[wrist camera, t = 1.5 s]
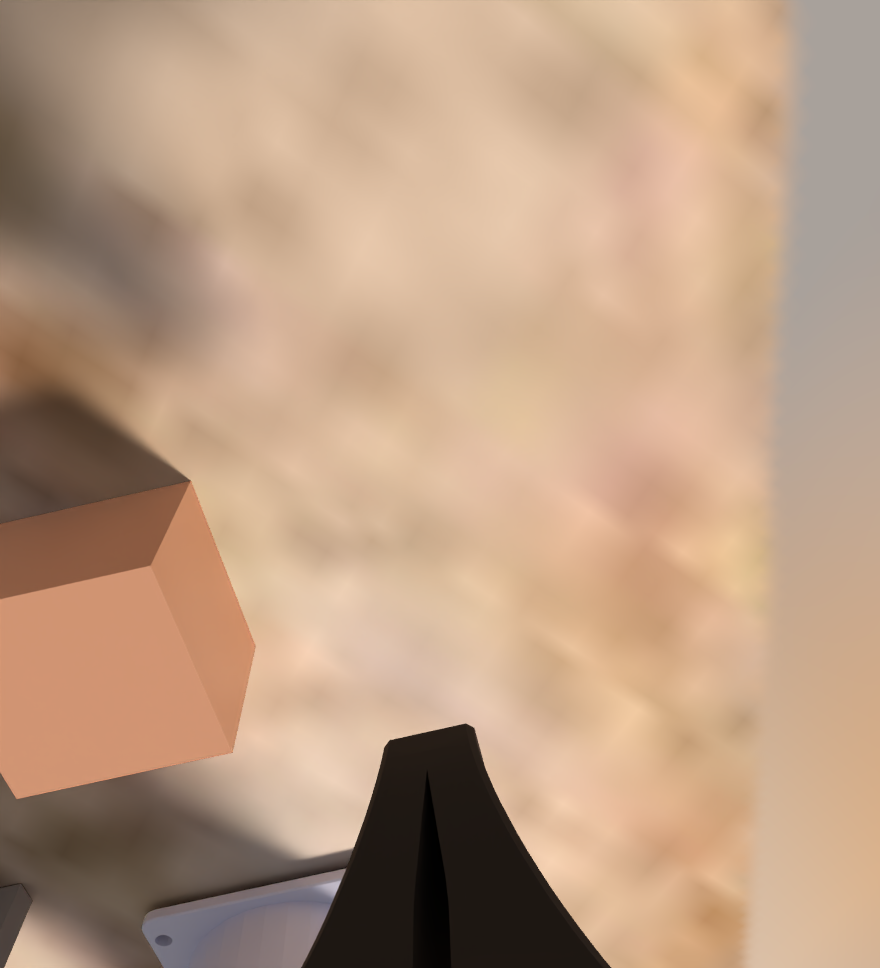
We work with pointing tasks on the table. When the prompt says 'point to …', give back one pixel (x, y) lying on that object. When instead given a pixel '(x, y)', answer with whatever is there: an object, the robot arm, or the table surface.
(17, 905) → the box
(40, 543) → the terracotta block
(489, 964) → the robot arm
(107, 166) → the table surface
